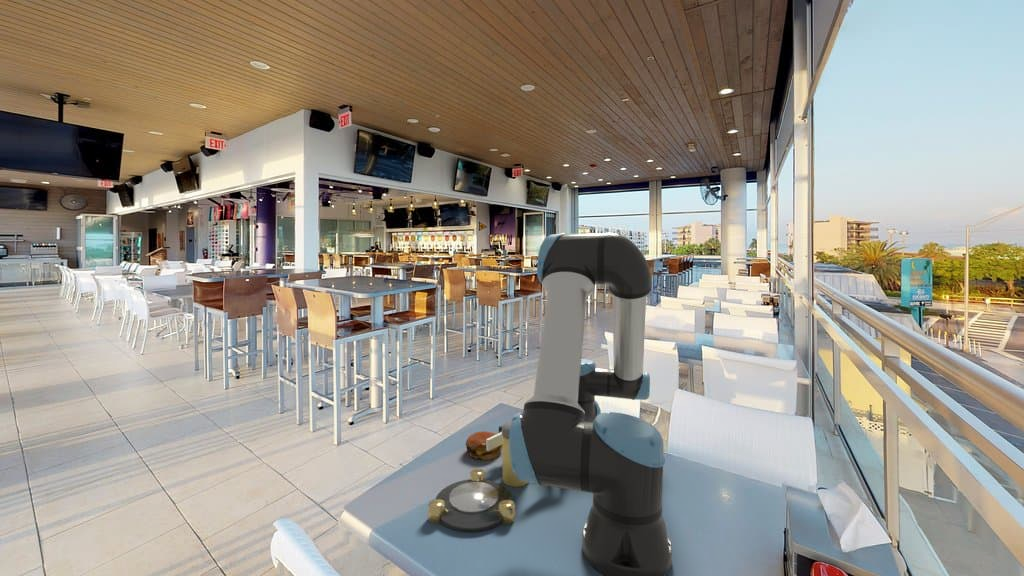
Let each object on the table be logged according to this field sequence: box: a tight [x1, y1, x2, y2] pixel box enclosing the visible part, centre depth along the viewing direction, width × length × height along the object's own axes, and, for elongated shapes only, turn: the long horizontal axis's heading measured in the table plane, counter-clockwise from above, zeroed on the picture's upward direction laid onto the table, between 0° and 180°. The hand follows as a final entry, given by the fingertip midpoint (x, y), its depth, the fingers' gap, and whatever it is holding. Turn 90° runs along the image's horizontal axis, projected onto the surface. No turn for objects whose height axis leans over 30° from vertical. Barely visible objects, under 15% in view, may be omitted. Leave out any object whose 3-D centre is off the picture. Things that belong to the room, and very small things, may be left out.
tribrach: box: [427, 468, 516, 533], centre depth 85 cm, size 17×18×3 cm
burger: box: [465, 430, 503, 461], centre depth 110 cm, size 10×9×5 cm
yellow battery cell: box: [501, 421, 529, 488], centre depth 96 cm, size 7×7×13 cm
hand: (508, 454), depth 94 cm, fingers open, 13 cm apart
